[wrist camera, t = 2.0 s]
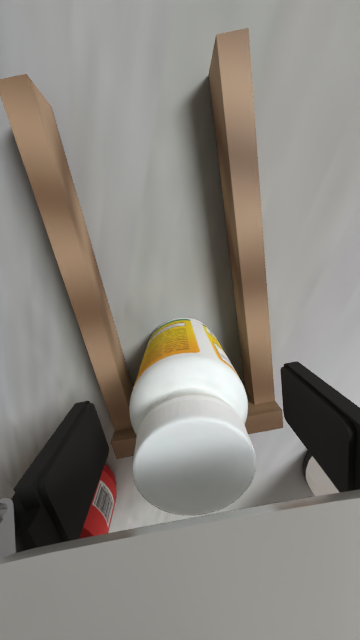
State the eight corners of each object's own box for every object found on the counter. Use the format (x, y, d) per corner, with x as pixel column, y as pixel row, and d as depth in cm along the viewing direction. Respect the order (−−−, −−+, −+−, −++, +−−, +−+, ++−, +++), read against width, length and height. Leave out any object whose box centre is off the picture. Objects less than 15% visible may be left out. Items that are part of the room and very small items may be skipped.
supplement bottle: (227, 329, 15) (313, 429, 6) (200, 387, 17) (237, 543, 7) (160, 305, 15) (141, 376, 5) (137, 368, 16) (90, 513, 7)
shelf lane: (25, 111, 11) (-25, 59, 8) (235, 68, 11) (257, 0, 8) (125, 426, 17) (116, 458, 14) (264, 400, 17) (282, 427, 14)
